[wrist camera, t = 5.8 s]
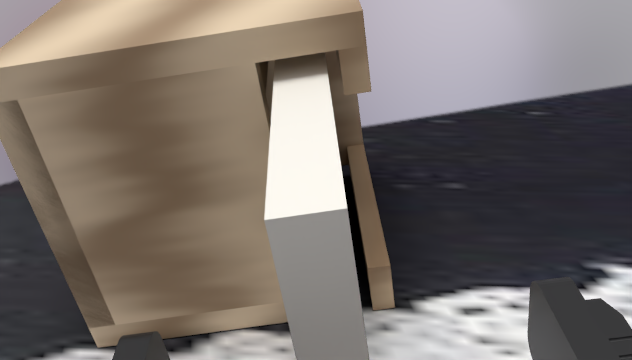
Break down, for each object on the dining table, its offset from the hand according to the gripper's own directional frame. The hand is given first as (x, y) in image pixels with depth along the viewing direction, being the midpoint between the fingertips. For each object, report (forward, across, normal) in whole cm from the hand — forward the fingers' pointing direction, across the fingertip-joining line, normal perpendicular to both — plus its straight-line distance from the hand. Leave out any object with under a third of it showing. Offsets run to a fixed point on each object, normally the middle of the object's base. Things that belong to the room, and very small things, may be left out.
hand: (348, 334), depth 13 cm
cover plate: (+6, 0, -6) cm, 8 cm away
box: (+12, -5, -6) cm, 14 cm away
